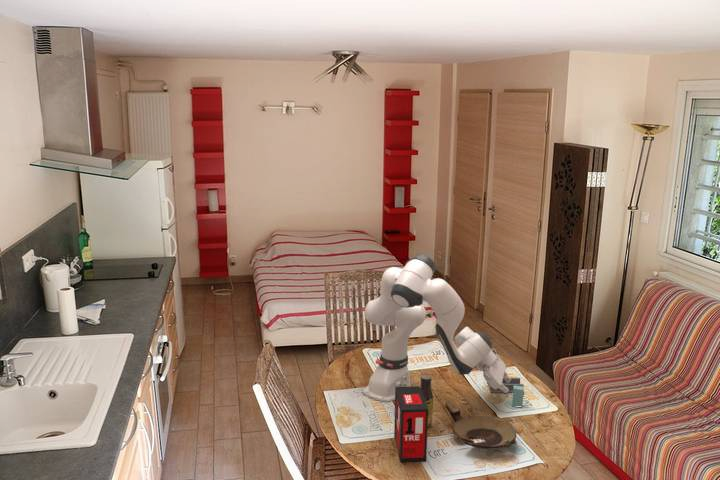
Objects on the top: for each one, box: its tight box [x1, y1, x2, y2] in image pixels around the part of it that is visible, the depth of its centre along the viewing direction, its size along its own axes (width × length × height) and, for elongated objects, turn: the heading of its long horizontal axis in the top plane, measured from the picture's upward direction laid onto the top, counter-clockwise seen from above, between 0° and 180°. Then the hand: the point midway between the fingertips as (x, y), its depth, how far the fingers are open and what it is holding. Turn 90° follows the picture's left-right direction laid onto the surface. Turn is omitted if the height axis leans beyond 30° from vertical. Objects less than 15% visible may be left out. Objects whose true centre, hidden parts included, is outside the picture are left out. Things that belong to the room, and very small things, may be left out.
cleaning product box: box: [393, 385, 428, 464], centre depth 210 cm, size 16×9×20 cm, turn 4°
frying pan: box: [444, 402, 517, 450], centre depth 219 cm, size 22×30×8 cm
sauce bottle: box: [420, 374, 434, 429], centre depth 226 cm, size 6×6×20 cm
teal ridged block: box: [511, 385, 525, 408], centre depth 243 cm, size 4×3×8 cm
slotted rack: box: [486, 376, 525, 395], centre depth 257 cm, size 14×10×4 cm
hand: (508, 386), depth 242 cm, fingers open, 8 cm apart
